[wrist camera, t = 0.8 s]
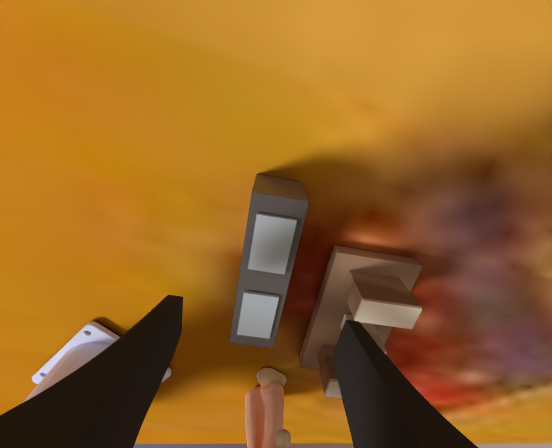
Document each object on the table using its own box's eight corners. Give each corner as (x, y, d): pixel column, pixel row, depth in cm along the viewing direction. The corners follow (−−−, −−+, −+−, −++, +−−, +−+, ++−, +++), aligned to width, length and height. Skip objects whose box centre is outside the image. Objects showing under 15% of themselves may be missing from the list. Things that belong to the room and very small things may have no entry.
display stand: (365, 364, 23) (383, 413, 19) (299, 356, 22) (304, 405, 18) (415, 258, 18) (451, 295, 15) (333, 245, 18) (349, 280, 14)
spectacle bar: (273, 304, 20) (272, 351, 16) (237, 300, 20) (228, 345, 16) (301, 181, 16) (309, 203, 12) (256, 173, 16) (251, 193, 12)
